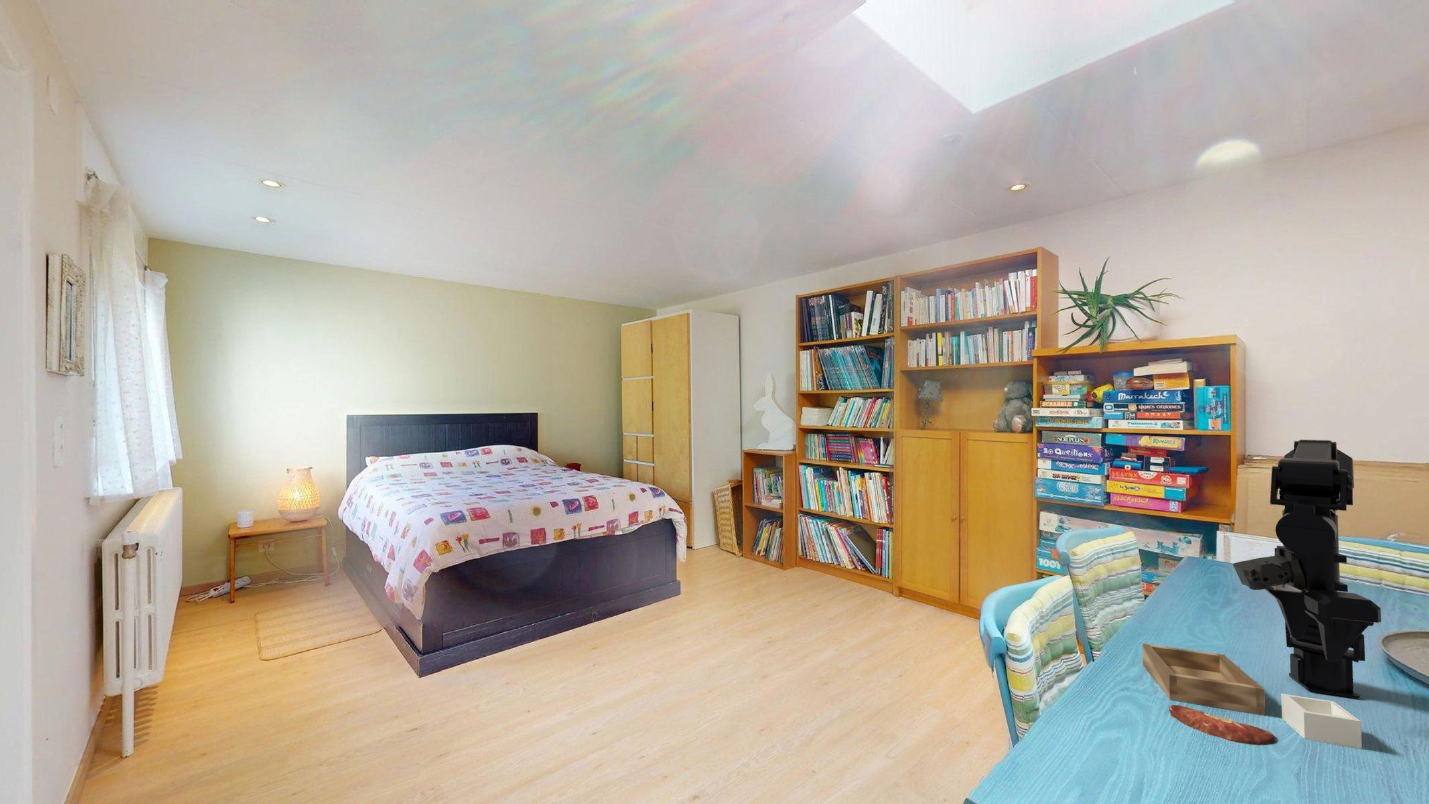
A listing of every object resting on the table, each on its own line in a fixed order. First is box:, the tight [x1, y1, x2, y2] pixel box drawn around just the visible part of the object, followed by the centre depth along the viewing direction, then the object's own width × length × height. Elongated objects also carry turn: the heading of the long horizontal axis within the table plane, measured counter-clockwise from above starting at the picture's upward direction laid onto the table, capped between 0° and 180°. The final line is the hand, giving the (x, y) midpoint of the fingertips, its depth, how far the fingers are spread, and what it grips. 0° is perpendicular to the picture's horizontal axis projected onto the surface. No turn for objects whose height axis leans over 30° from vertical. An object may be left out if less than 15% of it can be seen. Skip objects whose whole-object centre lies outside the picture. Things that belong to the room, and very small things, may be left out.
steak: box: [1168, 704, 1276, 746], centre depth 83 cm, size 8×2×12 cm
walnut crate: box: [1142, 643, 1266, 716], centre depth 95 cm, size 12×14×4 cm
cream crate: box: [1280, 693, 1363, 750], centre depth 82 cm, size 6×6×4 cm
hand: (1313, 649), depth 82 cm, fingers open, 9 cm apart
